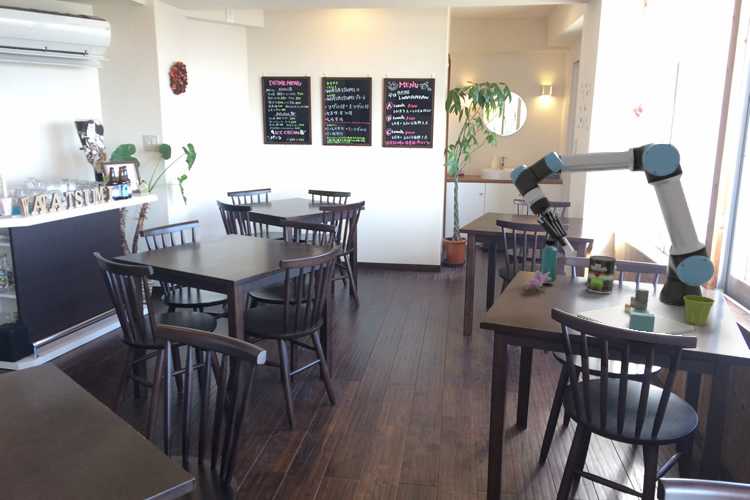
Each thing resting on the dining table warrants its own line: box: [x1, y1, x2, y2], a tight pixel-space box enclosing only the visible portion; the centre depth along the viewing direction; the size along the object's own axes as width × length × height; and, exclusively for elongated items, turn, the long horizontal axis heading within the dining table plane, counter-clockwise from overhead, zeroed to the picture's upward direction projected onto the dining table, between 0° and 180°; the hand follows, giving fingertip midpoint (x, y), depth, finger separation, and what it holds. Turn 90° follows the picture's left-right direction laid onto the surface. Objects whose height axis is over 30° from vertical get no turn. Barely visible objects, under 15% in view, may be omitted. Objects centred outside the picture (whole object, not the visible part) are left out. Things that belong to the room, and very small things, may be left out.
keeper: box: [629, 309, 655, 332], centre depth 184 cm, size 10×7×6 cm, turn 161°
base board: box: [575, 304, 696, 335], centre depth 191 cm, size 25×28×1 cm
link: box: [624, 288, 650, 312], centre depth 193 cm, size 21×6×10 cm, turn 167°
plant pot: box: [683, 295, 716, 326], centre depth 191 cm, size 9×9×9 cm
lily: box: [524, 270, 551, 295], centre depth 229 cm, size 12×12×10 cm
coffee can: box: [586, 255, 617, 294], centre depth 232 cm, size 10×10×14 cm
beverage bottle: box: [540, 238, 559, 283], centre depth 241 cm, size 6×7×20 cm
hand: (570, 252), depth 208 cm, fingers closed
